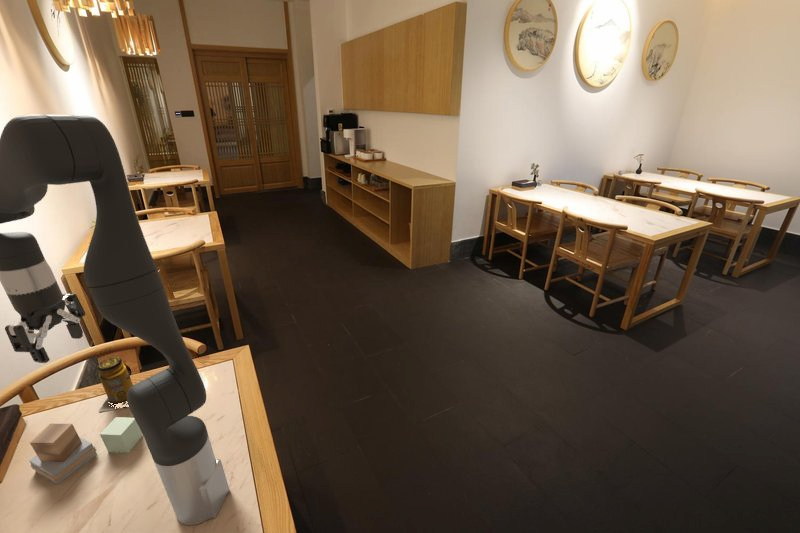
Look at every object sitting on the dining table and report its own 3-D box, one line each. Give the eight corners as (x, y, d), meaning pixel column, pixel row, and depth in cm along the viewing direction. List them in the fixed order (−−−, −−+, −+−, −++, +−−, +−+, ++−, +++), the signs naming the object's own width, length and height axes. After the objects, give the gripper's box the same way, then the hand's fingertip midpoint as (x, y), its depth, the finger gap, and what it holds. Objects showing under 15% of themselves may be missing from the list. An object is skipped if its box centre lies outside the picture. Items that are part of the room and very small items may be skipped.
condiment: (141, 385, 107) (128, 352, 102) (129, 407, 99) (115, 372, 94) (112, 390, 105) (98, 356, 100) (98, 412, 97) (82, 377, 92)
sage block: (143, 435, 91) (135, 417, 89) (128, 453, 86) (120, 435, 84) (123, 434, 91) (115, 417, 89) (108, 452, 87) (99, 434, 84)
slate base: (98, 454, 86) (92, 442, 85) (58, 486, 79) (50, 473, 78) (76, 443, 89) (70, 431, 87) (35, 472, 82) (27, 460, 80)
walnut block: (81, 442, 85) (72, 423, 82) (63, 461, 80) (53, 442, 78) (60, 442, 85) (50, 423, 82) (41, 461, 80) (29, 442, 78)
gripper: (13, 302, 67) (49, 371, 74) (78, 269, 80) (103, 330, 87) (-26, 301, 67) (13, 370, 74) (45, 268, 80) (72, 330, 87)
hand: (61, 349), depth 81 cm, fingers open, 8 cm apart
